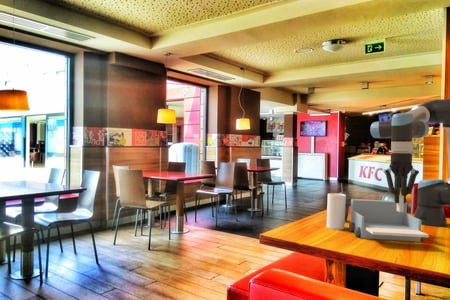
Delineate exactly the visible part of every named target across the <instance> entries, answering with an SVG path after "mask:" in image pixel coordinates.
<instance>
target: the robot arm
mask: <svg viewBox="0 0 450 300" xmlns="http://www.w3.org/2000/svg"><path fill="white" fill-rule="evenodd" d="M429 124H441V125H442V128H443V129H444V130H445V131H446V143H447V145H446V146H447V162H448V178H447V179H446V180H445V179H421V180H418V184H417V185H418V186H417V207H416V209H415V212H414V214H413V215H412V216H413V217H415V218H418V219H420V220H421V225H426V226H432V227H446V226H447V224H448V221H447V217H446V215H445V211H444V206H446V207H450V98H443V99H433V100H428V101H426V102H423V103H420V104H418V105H416V106H413V107H412V108H411V109H410V110H409V111H407V112H406V111H405V112H404V113H403V112H402V113H395V114H393V115H392V117H391V118H389V119H386V120H383V121H381V120H379V121H374V122H372V123H371V125H370V129H369V131H370V135H371V136H372V138H374V139H391V144H390V151H391V153H390V164H389V165H388V168H386V169H385V168H384V169H383V173H384V175H385V177H386V182H387V185H388V191H389V193H390V194H392V195H394V199H393V201H395V203H397V211H398V212H403V203H406V202H407V196H408V195H411V194H413V193H412V192H413V188H414V186H415V181H416V178H417V176H418V175H419V174H420V171H419V170H418V169H415V168H414V166H413V154H412V152H413V139H423V138H425V137H426V136H427V135H428V134H429V132H430V126H429ZM391 173H392V174H393V175H394V176H393V177H392V174H391ZM409 174H410V175H409ZM408 176H409V178H408ZM393 178H394V181H393Z"/></svg>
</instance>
